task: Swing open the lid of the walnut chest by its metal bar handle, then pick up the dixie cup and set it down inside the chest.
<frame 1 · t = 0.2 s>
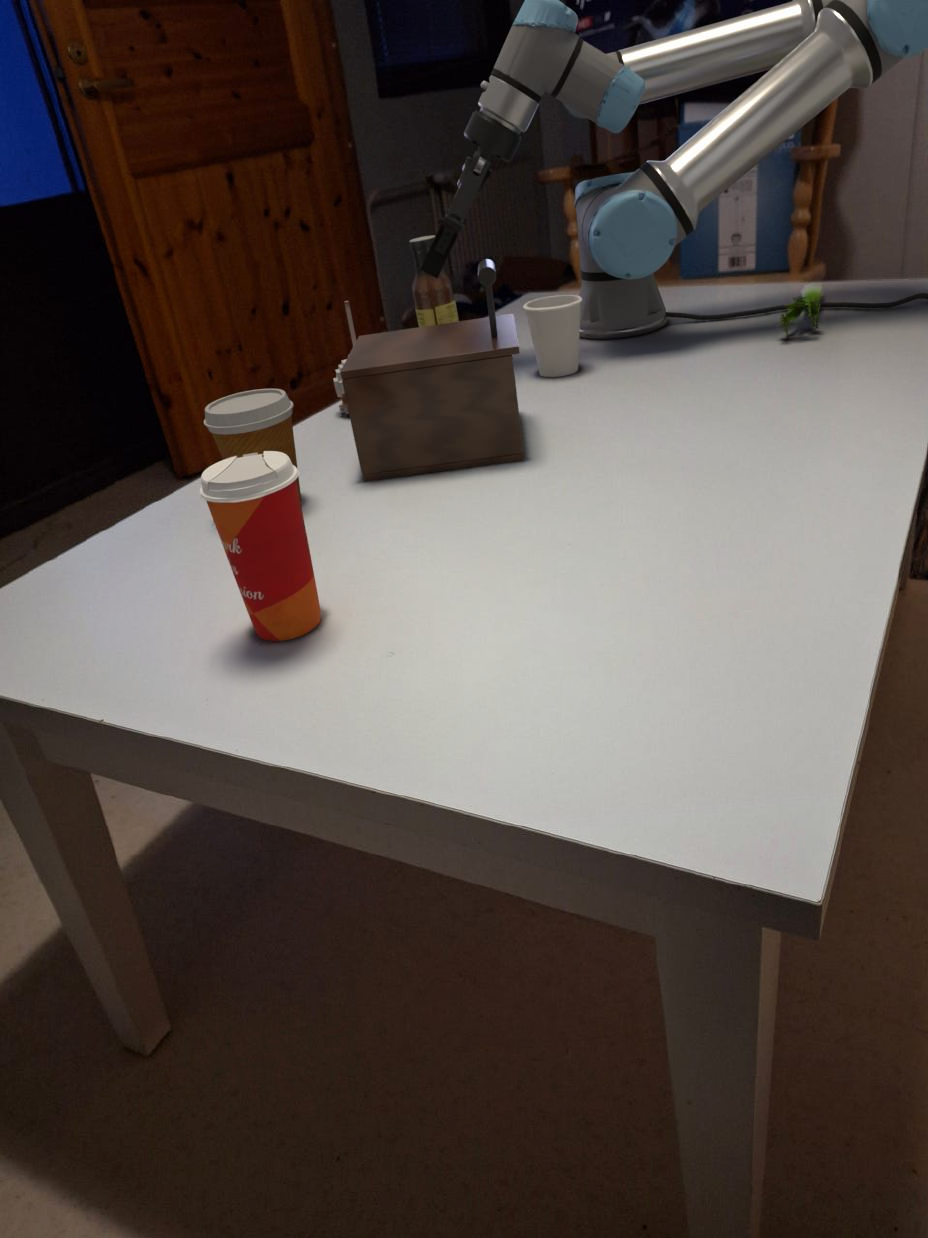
hand: (431, 267, 133), 16 cm above the table, tool tilted 35°, fingers open, 13 cm apart
lid: (427, 310, 102), point 16 cm above the table, hinge at 0.0°
chest: (445, 445, 110), on the table
paper cup: (289, 626, 75), on the table
disposable coffee cup: (274, 507, 100), on the table
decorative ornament: (368, 410, 129), on the table
sauce bottle: (446, 373, 141), on the table
leek: (802, 319, 138), on the table
dixie cup: (558, 372, 132), on the table
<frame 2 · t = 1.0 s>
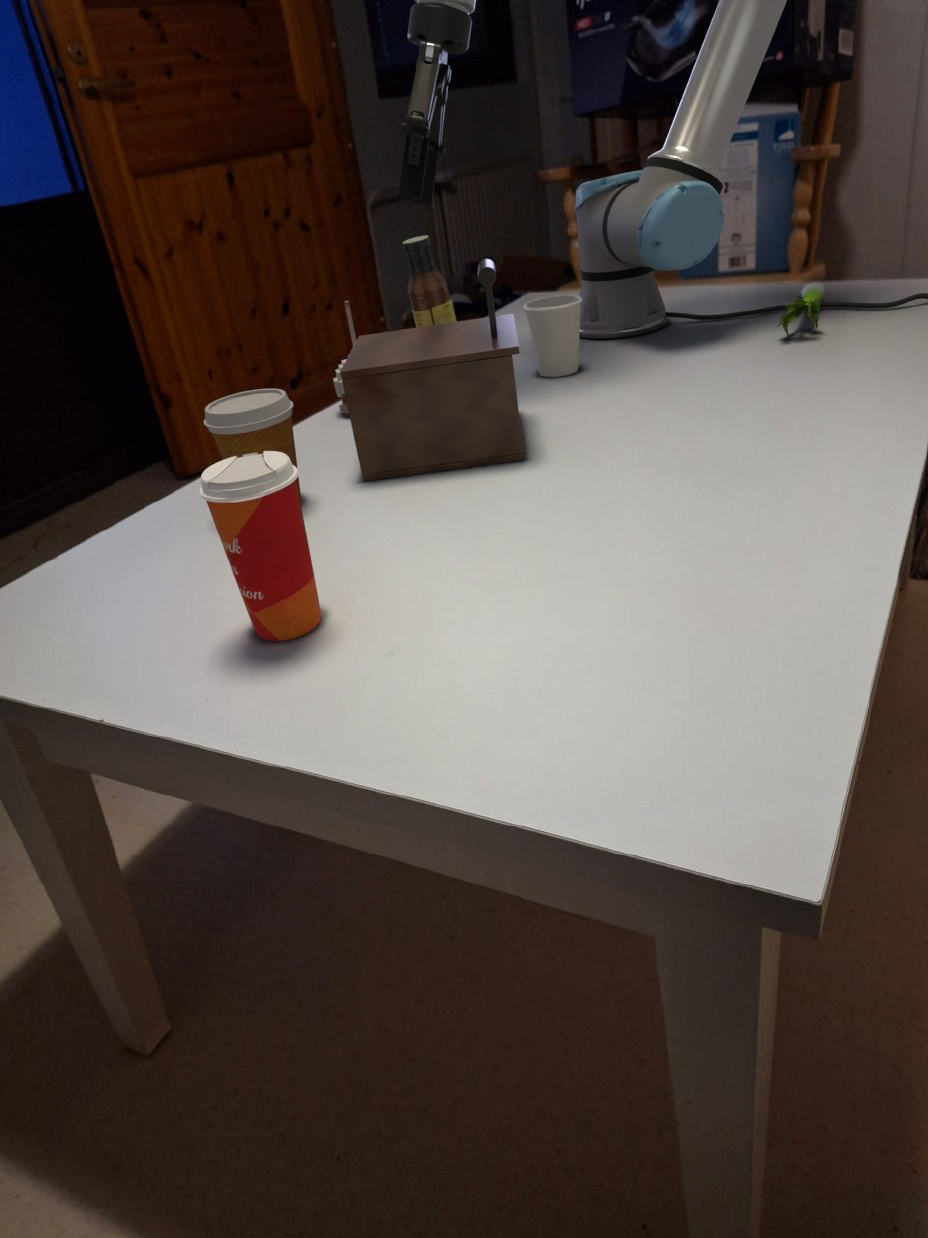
hand: (415, 200, 116), 26 cm above the table, tool tilted 20°, fingers open, 13 cm apart
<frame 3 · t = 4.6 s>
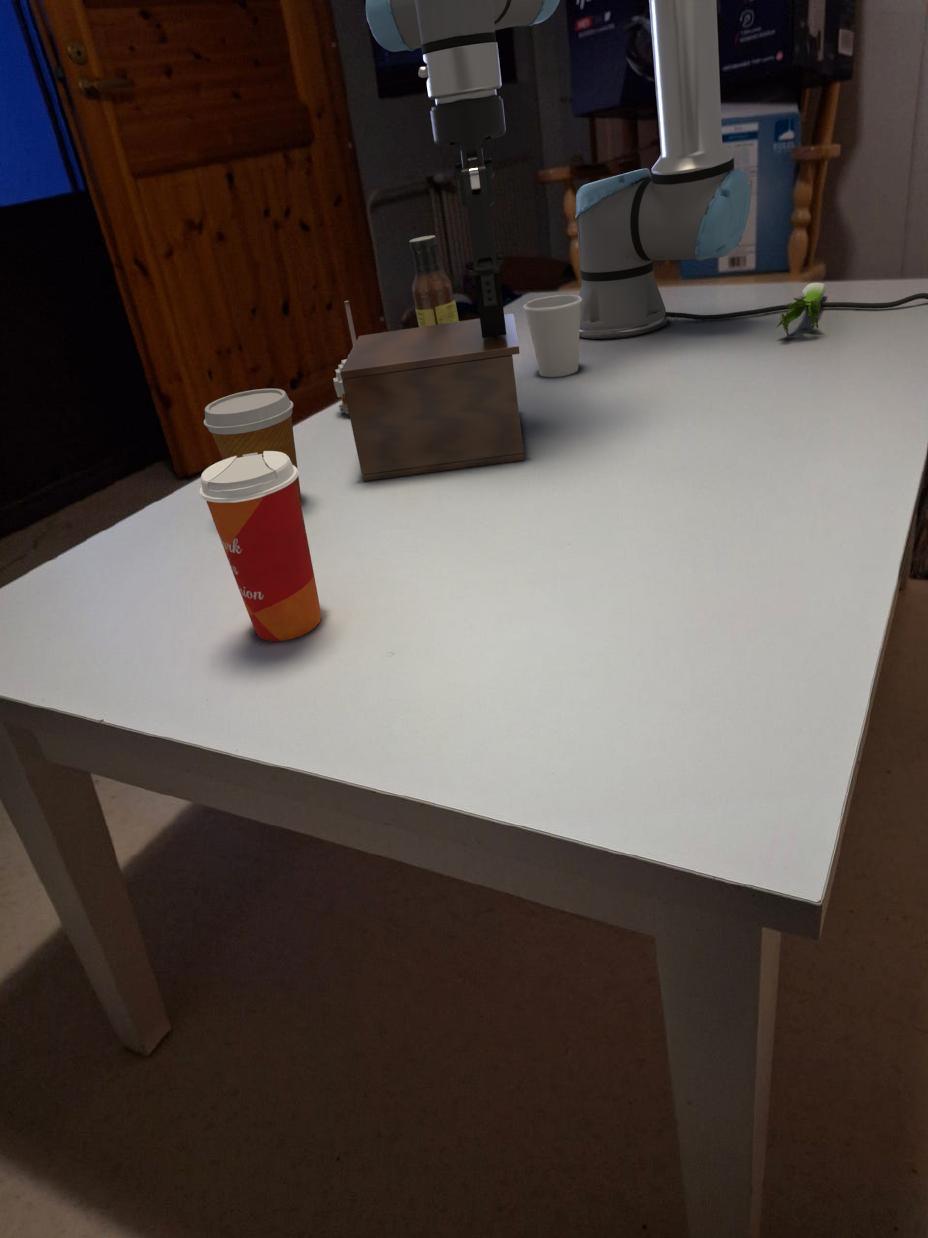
hand: (493, 328, 103), 13 cm above the table, tool pointing down, fingers closed on lid, 6 cm apart
lid: (427, 310, 102), point 16 cm above the table, hinge at 0.0°, touching gripper
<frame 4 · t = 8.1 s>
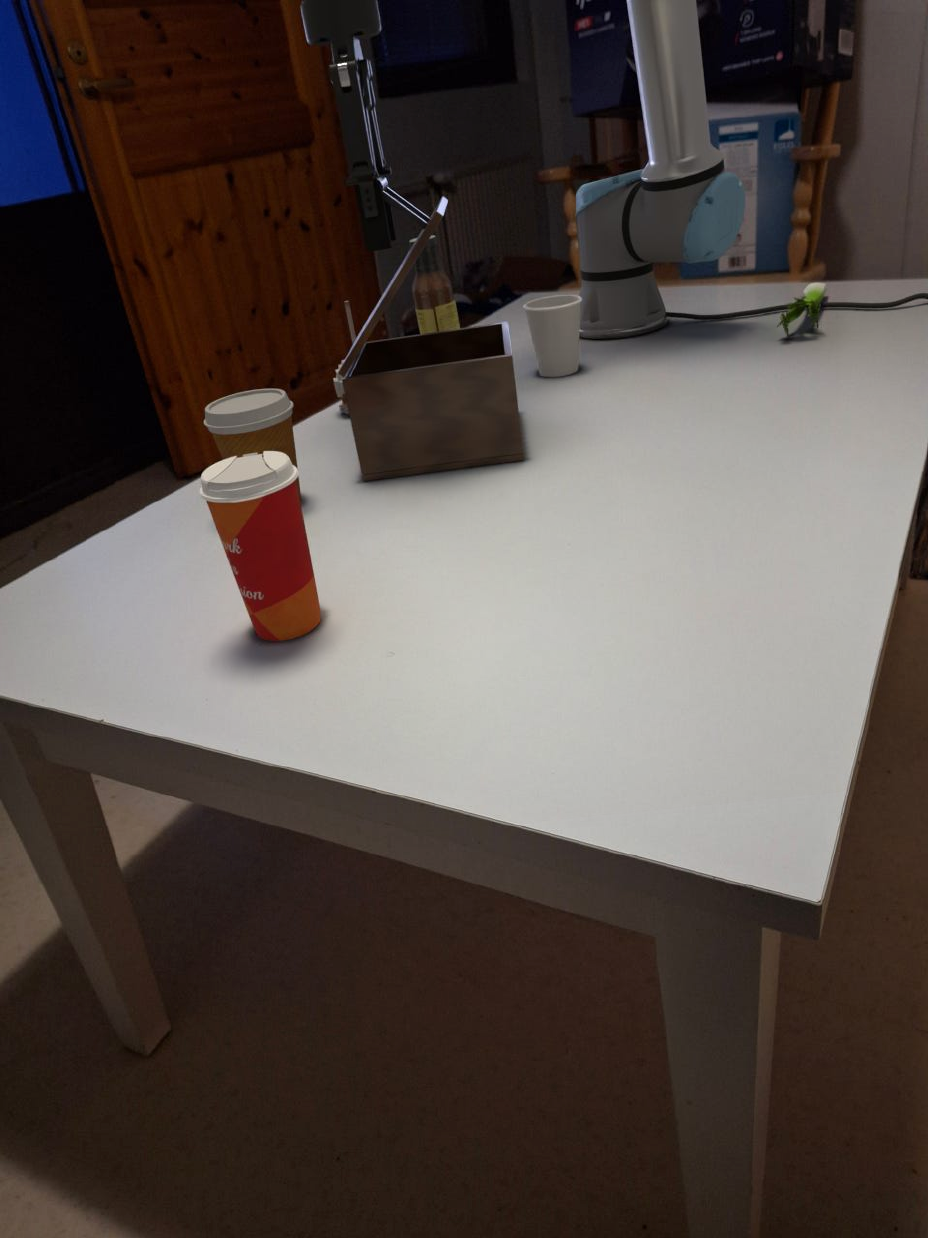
hand: (381, 244, 99), 24 cm above the table, tool pointing down, fingers closed on lid, 6 cm apart
lid: (366, 263, 100), point 22 cm above the table, hinge at 47.5°, touching gripper
everything else where it was.
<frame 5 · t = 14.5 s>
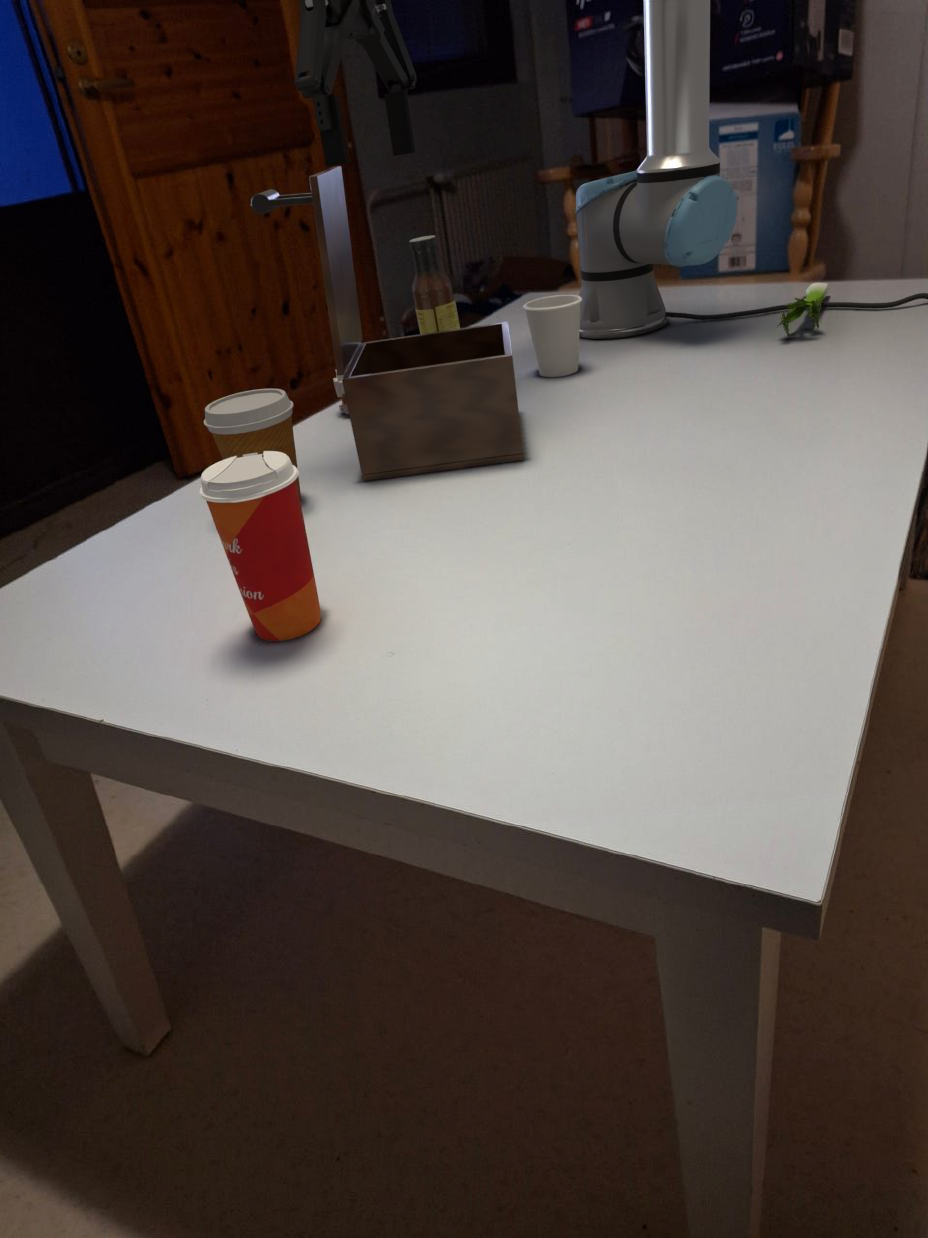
hand: (373, 160, 103), 32 cm above the table, tool pointing down, fingers open, 13 cm apart
lid: (305, 270, 100), point 22 cm above the table, hinge at 85.9°
everything else where it was.
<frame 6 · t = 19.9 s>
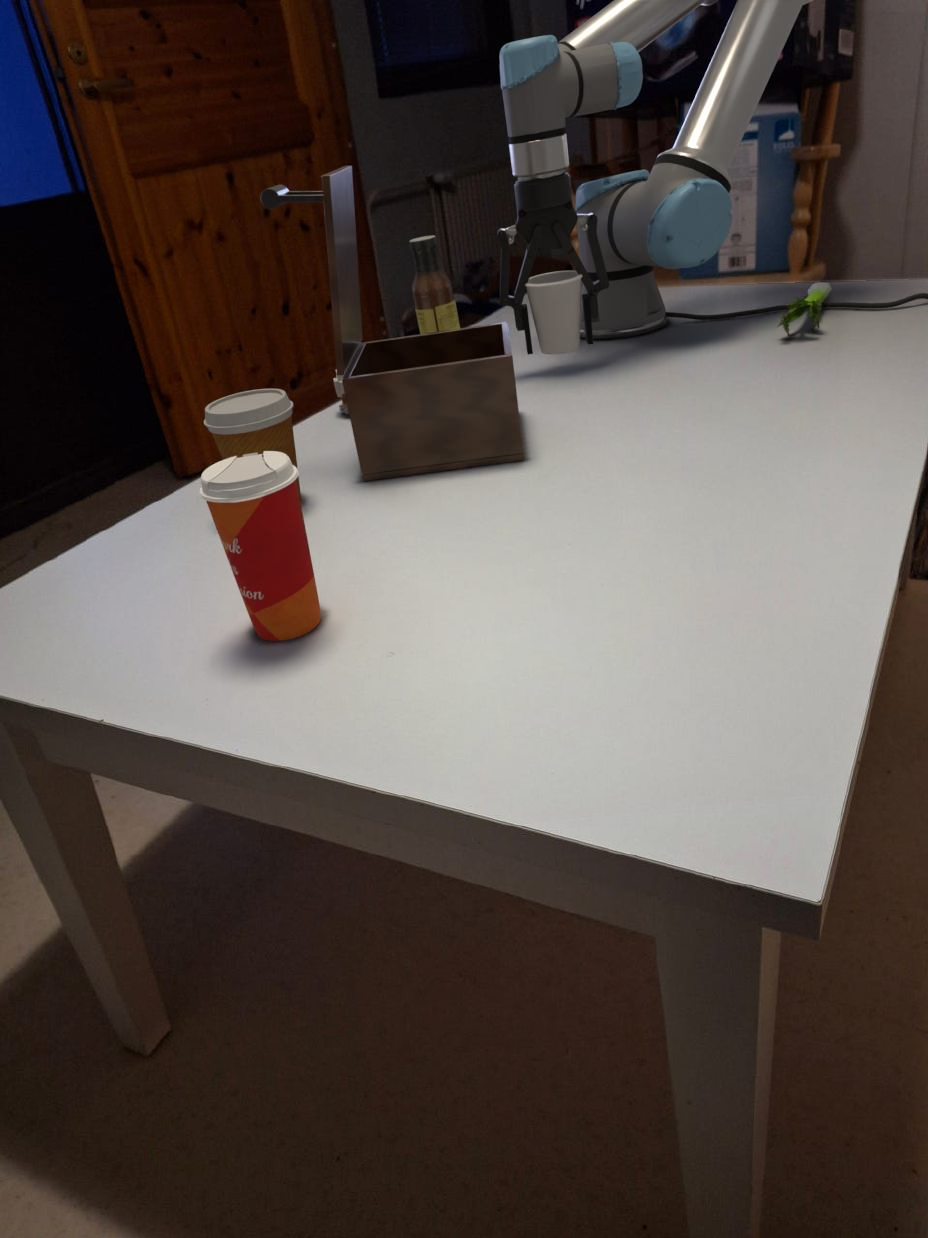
hand: (559, 346, 130), 3 cm above the table, tool pointing down, fingers closed on dixie cup, 8 cm apart
lid: (311, 267, 100), point 22 cm above the table, hinge at 82.3°
dixie cup: (560, 349, 131), point 3 cm above the table, touching gripper
everything else where it was.
when the fingers open (2 cm above the table, at t = 29.3 s): dixie cup stays where it is, resting on chest.
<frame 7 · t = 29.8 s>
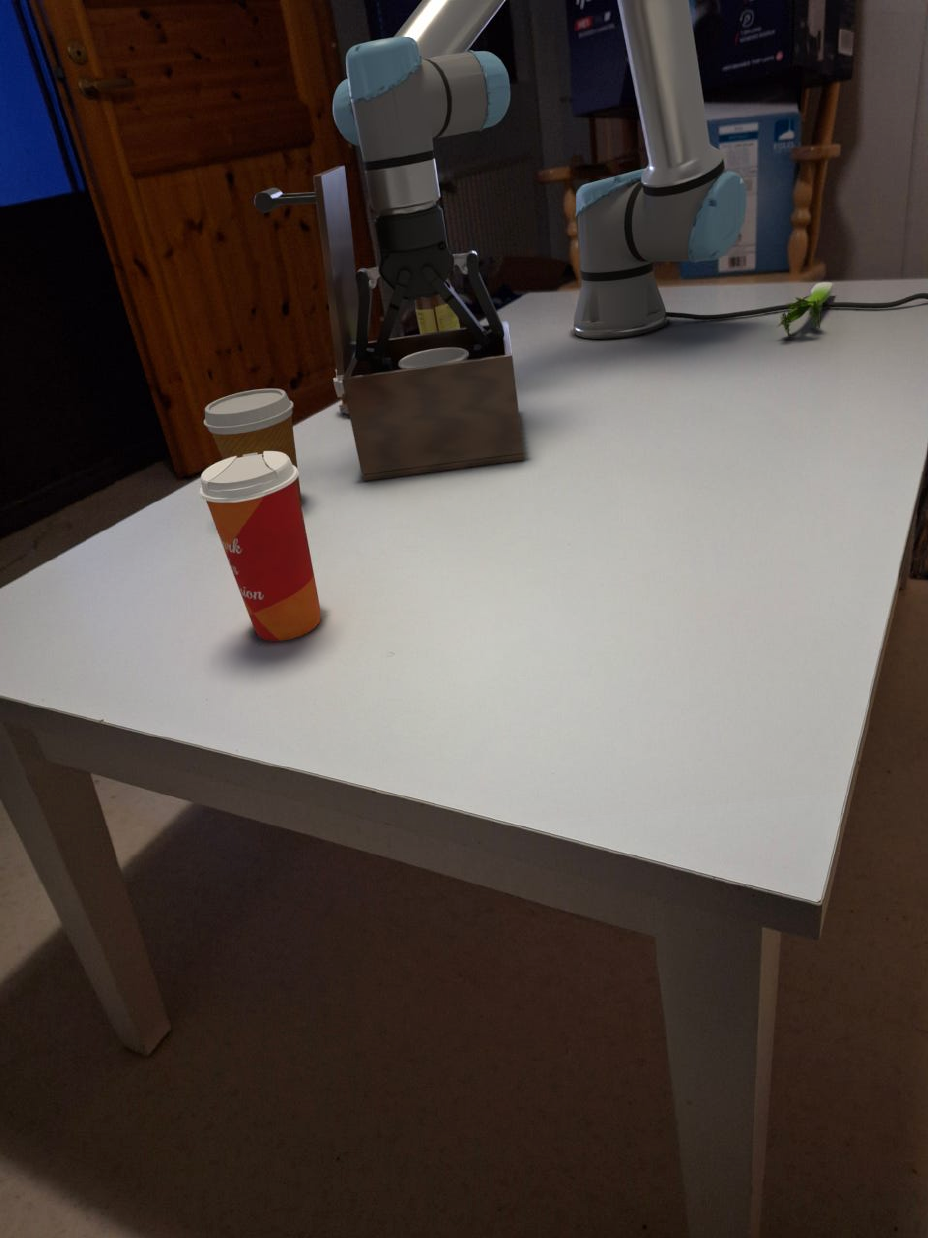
hand: (440, 408, 108), 5 cm above the table, tool pointing down, fingers open, 10 cm apart
lid: (307, 269, 100), point 22 cm above the table, hinge at 84.7°
dixie cup: (446, 440, 110), point 1 cm above the table, touching chest
everything else where it was.
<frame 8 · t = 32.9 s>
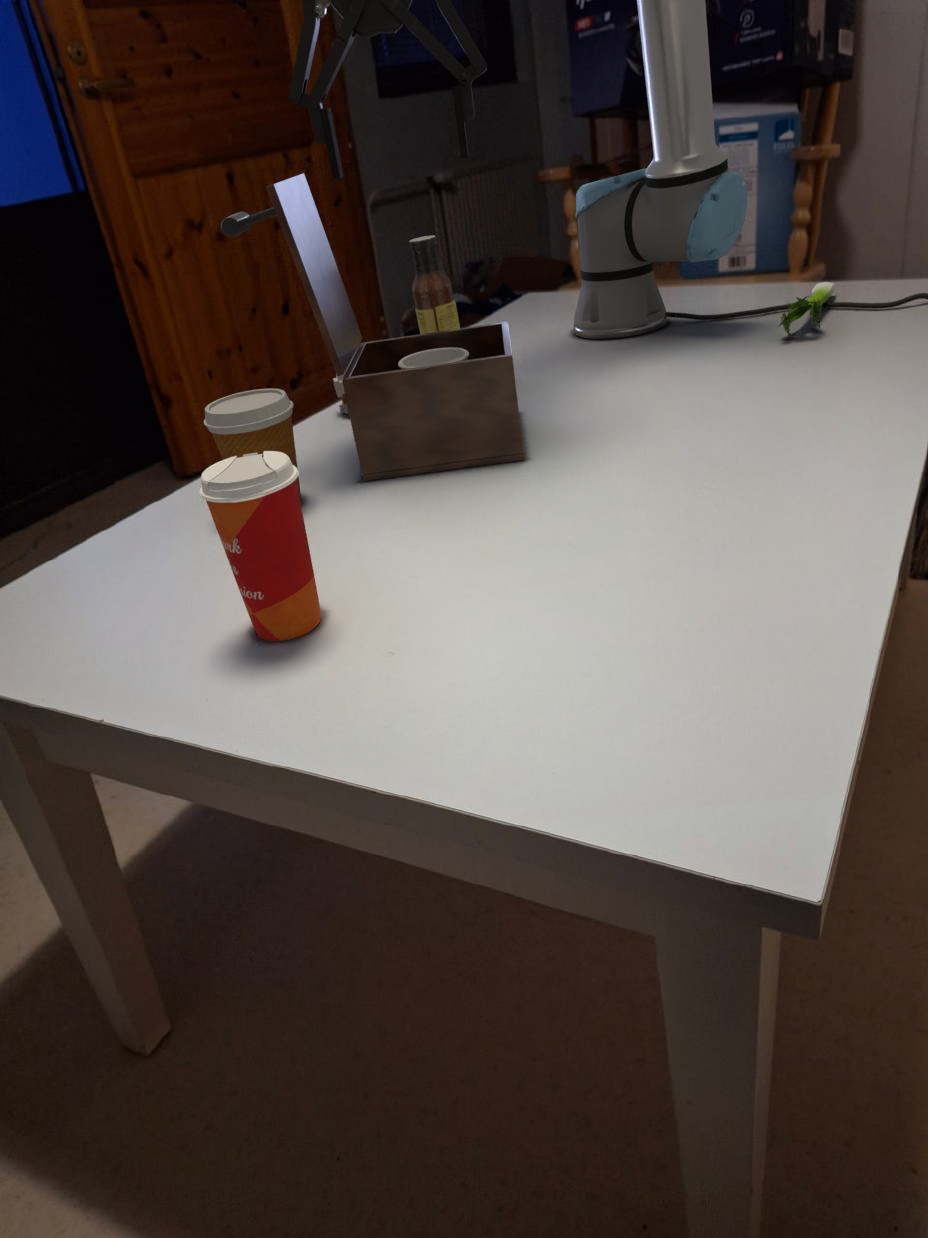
hand: (401, 168, 95), 31 cm above the table, tool pointing down, fingers open, 13 cm apart
lid: (289, 281, 101), point 21 cm above the table, hinge at 98.9°
everything else where it was.
at the end: lid at +99° (first picture: +0°); dixie cup inside the target area in the chest (0.2 cm from its centre), point 0.6 cm above the chest's base; dixie cup tilted 0° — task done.
